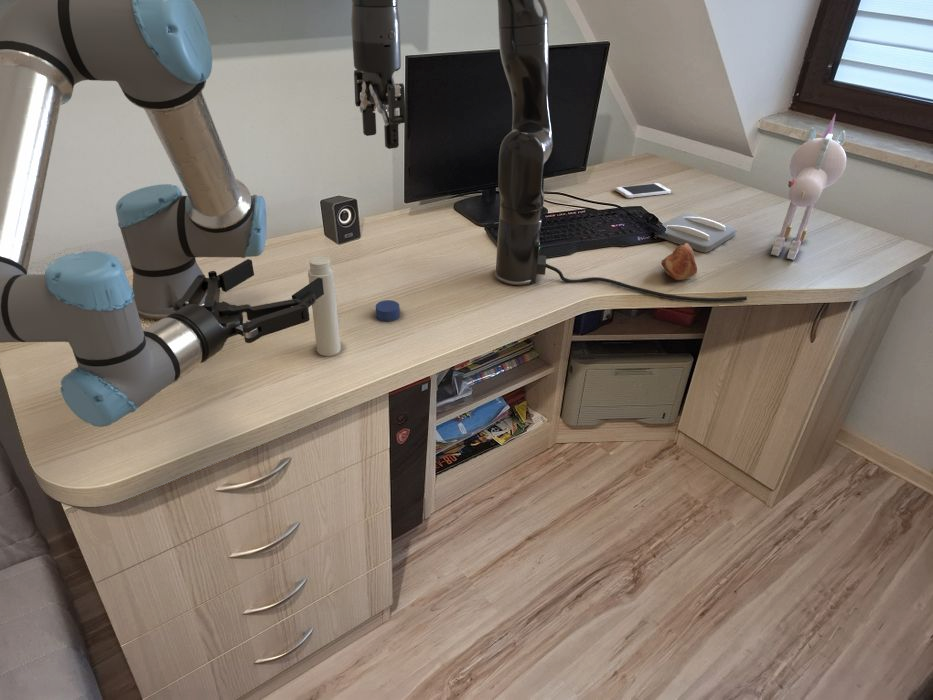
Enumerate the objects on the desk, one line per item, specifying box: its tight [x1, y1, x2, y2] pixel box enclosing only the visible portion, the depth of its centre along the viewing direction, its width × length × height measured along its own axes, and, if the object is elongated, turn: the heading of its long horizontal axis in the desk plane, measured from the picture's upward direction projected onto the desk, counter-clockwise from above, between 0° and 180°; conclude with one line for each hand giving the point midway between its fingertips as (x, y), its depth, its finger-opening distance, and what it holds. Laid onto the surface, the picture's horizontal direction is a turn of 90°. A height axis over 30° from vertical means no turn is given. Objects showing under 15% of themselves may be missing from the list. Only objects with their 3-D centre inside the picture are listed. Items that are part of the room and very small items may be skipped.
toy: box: [770, 112, 847, 261], centre depth 159 cm, size 12×36×30 cm, turn 148°
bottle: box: [307, 255, 342, 357], centre depth 113 cm, size 4×4×18 cm
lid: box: [375, 299, 401, 322], centre depth 128 cm, size 5×5×2 cm
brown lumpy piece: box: [660, 243, 698, 281], centre depth 146 cm, size 13×8×10 cm
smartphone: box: [615, 182, 672, 199], centre depth 194 cm, size 7×16×1 cm, turn 111°
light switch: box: [654, 212, 737, 253], centre depth 167 cm, size 18×3×15 cm
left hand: (285, 276), depth 100 cm, fingers open, 13 cm apart
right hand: (380, 141), depth 109 cm, fingers open, 8 cm apart
